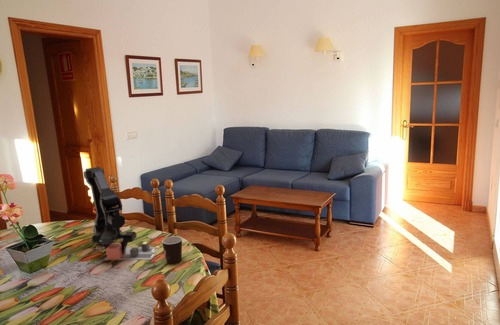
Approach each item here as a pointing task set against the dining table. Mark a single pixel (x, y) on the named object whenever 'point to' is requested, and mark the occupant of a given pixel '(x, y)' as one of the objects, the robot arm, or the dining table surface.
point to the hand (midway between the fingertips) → (116, 254)
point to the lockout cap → (114, 251)
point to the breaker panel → (141, 256)
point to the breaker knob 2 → (145, 246)
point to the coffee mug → (173, 249)
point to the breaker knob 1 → (134, 252)
